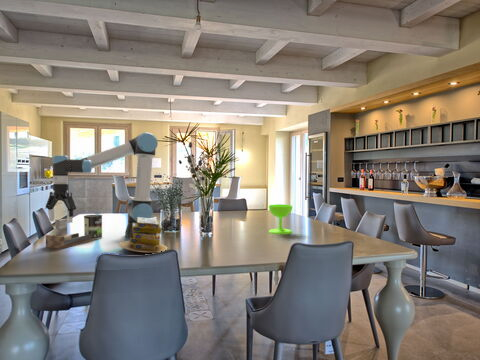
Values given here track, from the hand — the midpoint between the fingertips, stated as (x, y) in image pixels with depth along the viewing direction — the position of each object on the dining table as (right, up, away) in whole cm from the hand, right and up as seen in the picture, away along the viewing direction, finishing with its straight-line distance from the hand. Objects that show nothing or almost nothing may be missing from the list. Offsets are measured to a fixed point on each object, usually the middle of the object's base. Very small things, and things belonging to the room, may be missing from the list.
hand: (60, 221), depth 189 cm
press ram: (0, -12, +1) cm, 12 cm away
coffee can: (+9, -13, +22) cm, 27 cm away
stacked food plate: (+48, -14, -7) cm, 51 cm away
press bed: (+2, -13, +6) cm, 15 cm away
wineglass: (+127, -12, +43) cm, 134 cm away
